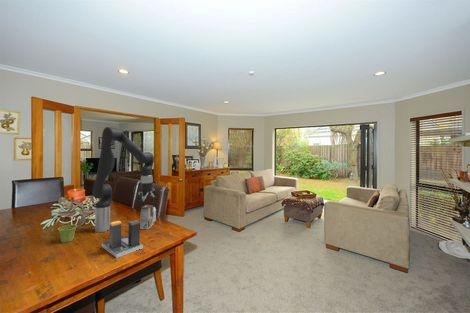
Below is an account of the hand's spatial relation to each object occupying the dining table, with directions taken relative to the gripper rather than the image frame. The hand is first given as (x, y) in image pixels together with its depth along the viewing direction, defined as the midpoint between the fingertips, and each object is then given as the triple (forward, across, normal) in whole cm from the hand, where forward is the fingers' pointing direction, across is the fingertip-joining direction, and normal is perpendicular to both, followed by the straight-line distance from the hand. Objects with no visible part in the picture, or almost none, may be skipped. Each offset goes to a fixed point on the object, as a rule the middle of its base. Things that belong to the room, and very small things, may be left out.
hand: (147, 204), depth 142 cm
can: (+24, -19, -18) cm, 35 cm away
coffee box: (+23, -10, -12) cm, 27 cm away
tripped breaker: (+17, +25, 0) cm, 31 cm away
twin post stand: (+20, +22, +1) cm, 29 cm away
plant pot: (+20, +30, -38) cm, 52 cm away
